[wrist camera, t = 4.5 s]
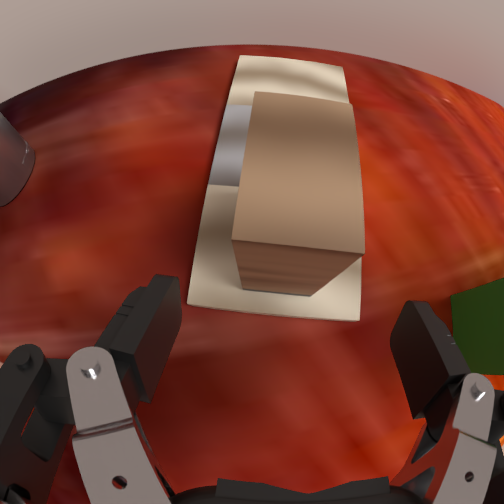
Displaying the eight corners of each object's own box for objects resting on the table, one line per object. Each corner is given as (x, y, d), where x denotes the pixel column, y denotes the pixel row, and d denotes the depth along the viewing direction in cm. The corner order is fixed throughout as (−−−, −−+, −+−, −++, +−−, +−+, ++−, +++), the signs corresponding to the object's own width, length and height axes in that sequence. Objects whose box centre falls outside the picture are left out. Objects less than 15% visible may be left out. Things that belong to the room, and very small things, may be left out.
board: (354, 321, 21) (359, 320, 20) (190, 305, 22) (186, 303, 21) (340, 73, 30) (342, 66, 29) (240, 62, 30) (240, 55, 29)
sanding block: (310, 296, 21) (364, 253, 10) (242, 290, 21) (231, 239, 10) (314, 199, 23) (352, 104, 12) (254, 193, 23) (254, 91, 13)
